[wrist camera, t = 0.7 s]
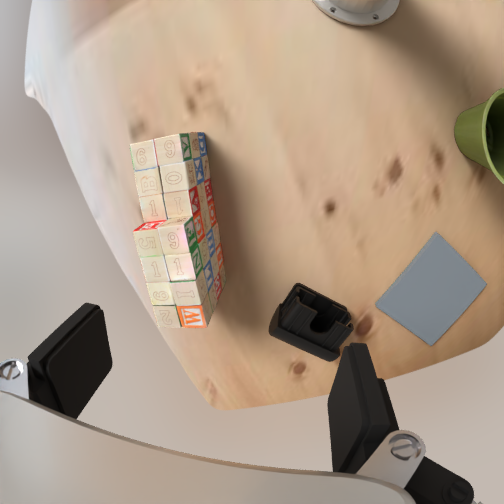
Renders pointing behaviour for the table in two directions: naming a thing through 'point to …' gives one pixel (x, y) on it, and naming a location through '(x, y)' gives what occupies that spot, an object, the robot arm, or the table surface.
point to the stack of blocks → (178, 229)
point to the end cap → (311, 323)
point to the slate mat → (432, 291)
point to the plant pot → (484, 134)
